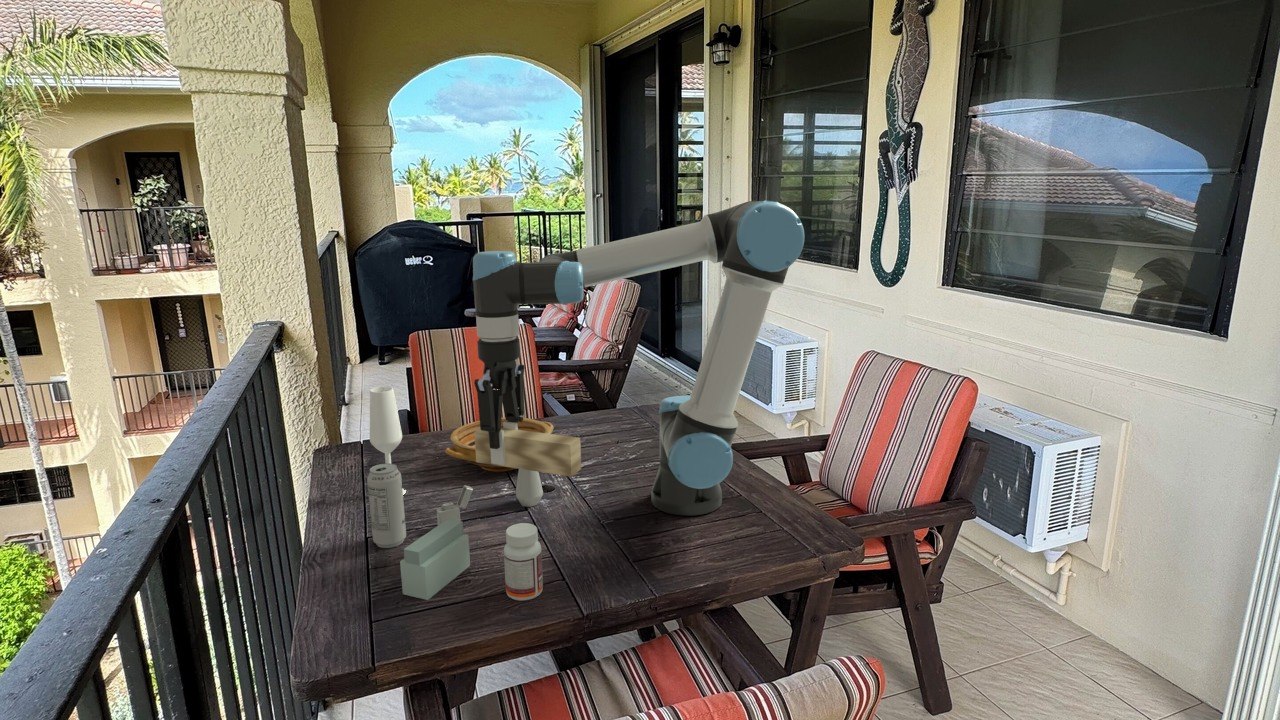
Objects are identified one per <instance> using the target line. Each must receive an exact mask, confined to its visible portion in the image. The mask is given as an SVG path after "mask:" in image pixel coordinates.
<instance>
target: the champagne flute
mask: <svg viewBox="0 0 1280 720" xmlns="http://www.w3.org/2000/svg"><path fill="white" fill-rule="evenodd" d="M402 439H403V432H402V427H401V423H400V417H399V411H398V405H397V400H396V394H395V390H394V387H393V386H377V387H373V388H370V389H369V442H370V444H371V446H373V447H374V448H375V449H376V450H377V451H379V452H381V453H383V454H384V459H385V461H384V462H385V464H386V463H390V464H392V457H391V453H392V452H393V451H394V450H395V449H397V447H398V446H400V443H401V442H402ZM404 489H405V488H402V491H403V495H404V494H405V493H406V491H407V490H406V489H405V490H404Z"/></svg>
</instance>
